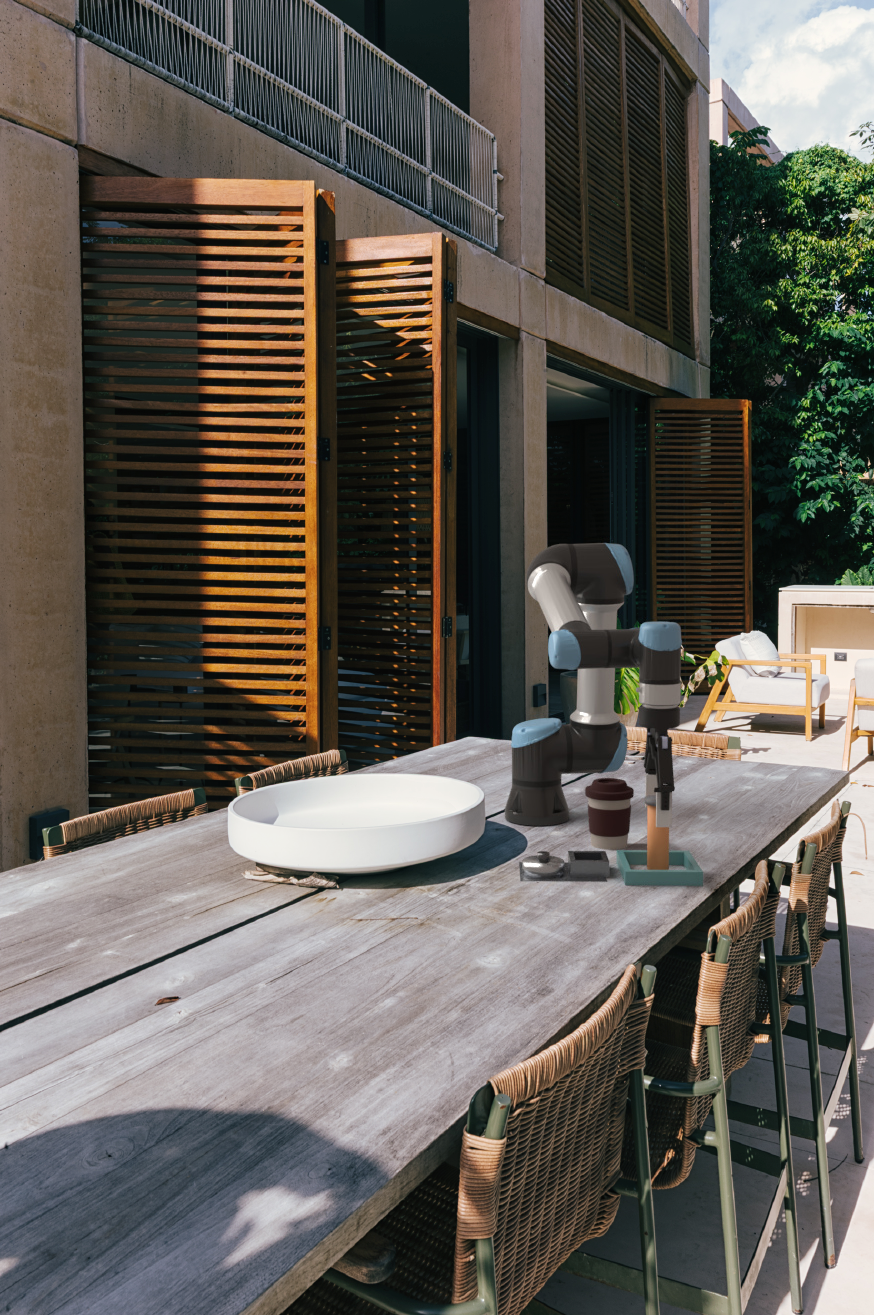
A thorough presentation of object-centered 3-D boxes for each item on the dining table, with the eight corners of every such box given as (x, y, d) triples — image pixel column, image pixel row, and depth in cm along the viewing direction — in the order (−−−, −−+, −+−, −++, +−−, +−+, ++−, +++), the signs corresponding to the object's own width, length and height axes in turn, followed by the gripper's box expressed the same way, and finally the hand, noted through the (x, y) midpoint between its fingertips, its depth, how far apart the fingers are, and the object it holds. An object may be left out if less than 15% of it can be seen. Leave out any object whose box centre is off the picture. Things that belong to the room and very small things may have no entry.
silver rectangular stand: (519, 869, 200) (519, 844, 200) (604, 870, 199) (604, 844, 199) (520, 888, 189) (520, 861, 188) (610, 889, 188) (610, 862, 187)
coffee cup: (633, 859, 206) (633, 786, 205) (583, 857, 208) (583, 785, 207) (633, 846, 216) (633, 776, 215) (586, 844, 218) (586, 775, 217)
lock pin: (642, 871, 195) (643, 794, 193) (669, 871, 194) (669, 794, 193) (646, 880, 190) (646, 801, 188) (673, 880, 189) (674, 801, 188)
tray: (616, 870, 199) (616, 850, 199) (688, 870, 198) (688, 850, 198) (625, 892, 185) (625, 871, 185) (703, 893, 185) (703, 872, 184)
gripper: (630, 695, 202) (629, 800, 204) (648, 716, 177) (647, 835, 179) (668, 695, 201) (667, 800, 203) (692, 716, 176) (690, 835, 179)
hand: (657, 817), depth 191 cm, fingers open, 13 cm apart
